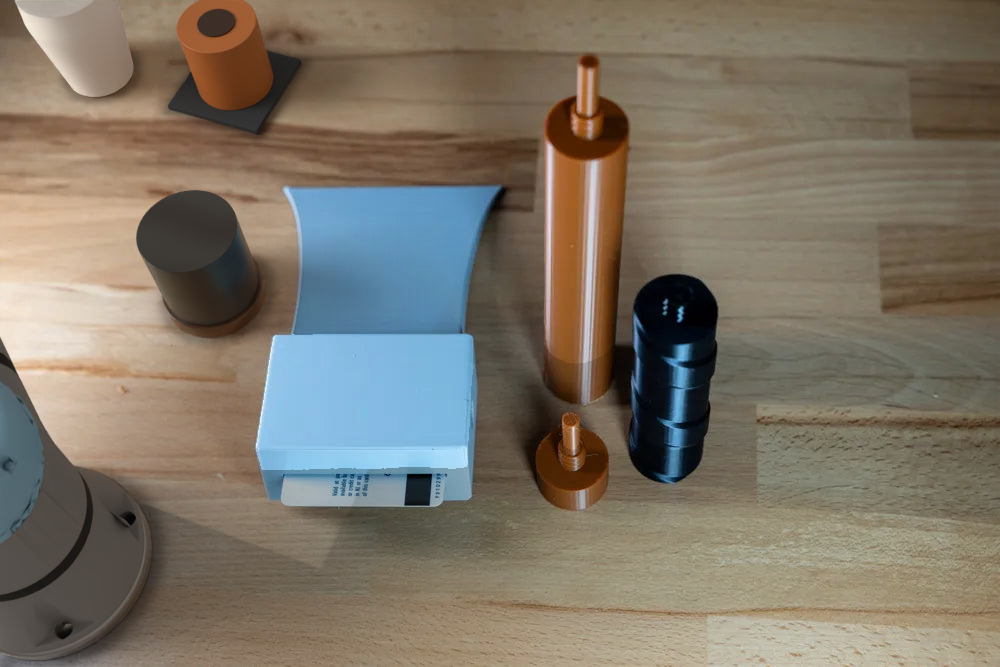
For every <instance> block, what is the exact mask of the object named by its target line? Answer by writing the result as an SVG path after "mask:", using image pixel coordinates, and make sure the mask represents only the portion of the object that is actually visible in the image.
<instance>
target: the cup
mask: <svg viewBox="0 0 1000 667" xmlns="http://www.w3.org/2000/svg"><path fill="white" fill-rule="evenodd" d="M14 3H15V5H16V8H17V9H18V12H19V14H20V16H21V18H22V22H23V24H24V27H26V29H27V31H28V32H29V34H30V35H31V36H32V38H33V39H34V40H35V42H36V43H37V44H38V46H39V47H40V48H41V50H42V51H43V52H44V53H45V55H46V56H47V58H48V59H49V61H51V63H52V64H53V66H55V69H56V70H58V73H60V74H61V76H62V77H63V78H64V80H65V81H66V82H67V84H68V85H69V86H70V87H71V89H72V90H73V91H74V92H75V93H77V94H79V95H81V96H84V97H89V98H100V97H105V96H109V95H111V94H114V93H116V92H118V91H120V90H121V89H123V88H124V87H125V86H126V85H127V84H128V83H129V82H130V80H131V78H132V77H133V74H134V61H133V58H132V53H131V49H130V45H129V39H128V36H127V32H126V27H125V23H124V18H123V15H122V10H121V5H120V1H119V0H14Z"/></svg>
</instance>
